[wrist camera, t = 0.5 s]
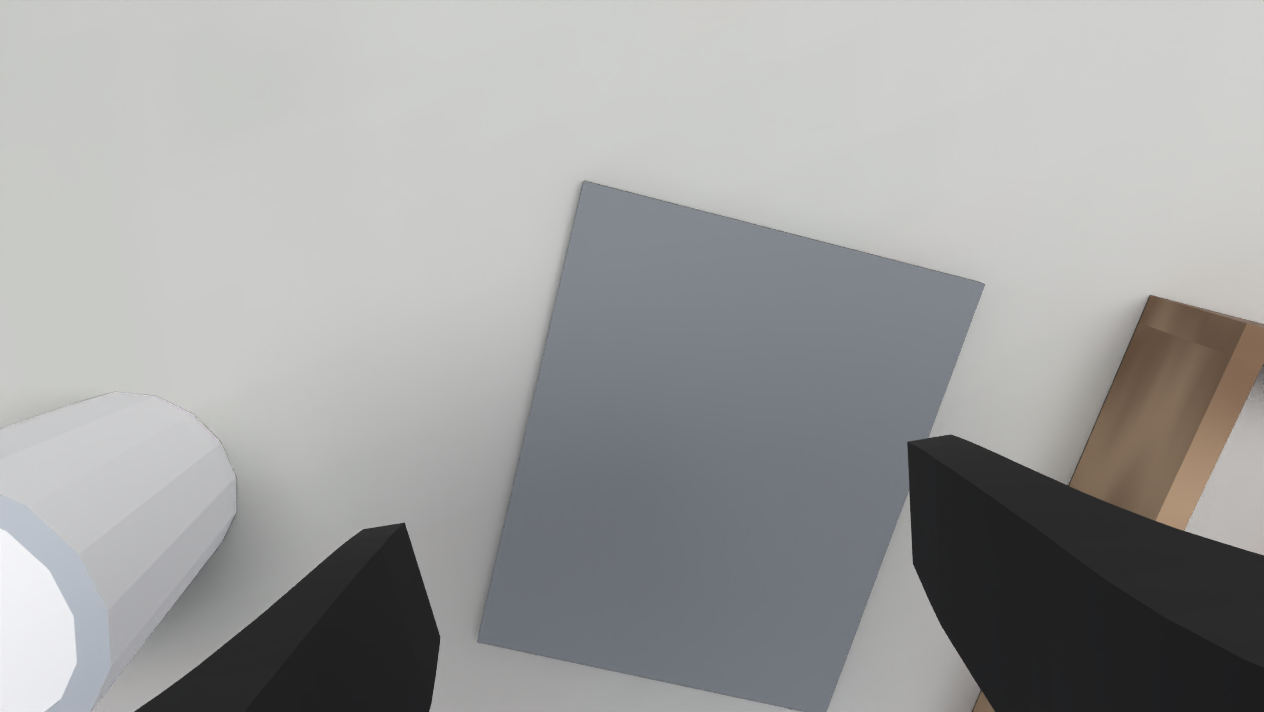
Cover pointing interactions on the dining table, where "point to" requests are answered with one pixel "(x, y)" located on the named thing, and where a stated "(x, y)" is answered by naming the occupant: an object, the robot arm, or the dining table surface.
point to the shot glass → (99, 540)
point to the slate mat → (717, 449)
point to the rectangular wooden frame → (1169, 413)
